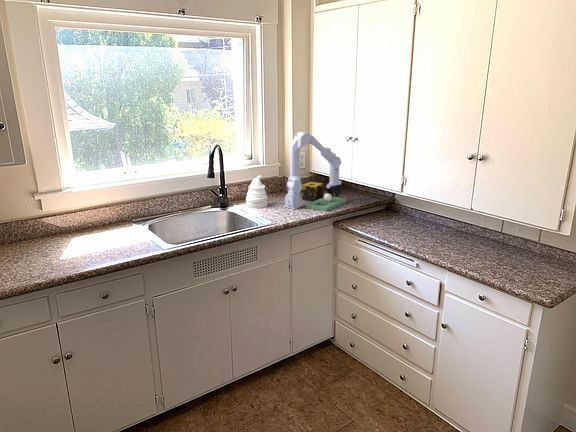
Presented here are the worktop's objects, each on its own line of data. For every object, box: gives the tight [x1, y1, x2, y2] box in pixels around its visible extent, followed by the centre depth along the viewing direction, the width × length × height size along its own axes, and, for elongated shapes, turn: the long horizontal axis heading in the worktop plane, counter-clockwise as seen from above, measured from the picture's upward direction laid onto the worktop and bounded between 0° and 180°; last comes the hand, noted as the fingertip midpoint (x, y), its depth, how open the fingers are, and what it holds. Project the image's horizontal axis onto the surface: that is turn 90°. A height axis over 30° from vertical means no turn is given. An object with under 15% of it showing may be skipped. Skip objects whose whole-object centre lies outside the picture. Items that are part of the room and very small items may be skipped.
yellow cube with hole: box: [301, 181, 324, 202], centre depth 270 cm, size 10×10×10 cm
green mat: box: [305, 196, 348, 212], centre depth 258 cm, size 24×14×2 cm, turn 143°
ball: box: [323, 192, 332, 202], centre depth 258 cm, size 5×5×5 cm
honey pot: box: [245, 175, 268, 209], centre depth 256 cm, size 13×13×18 cm
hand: (333, 197), depth 264 cm, fingers open, 7 cm apart
